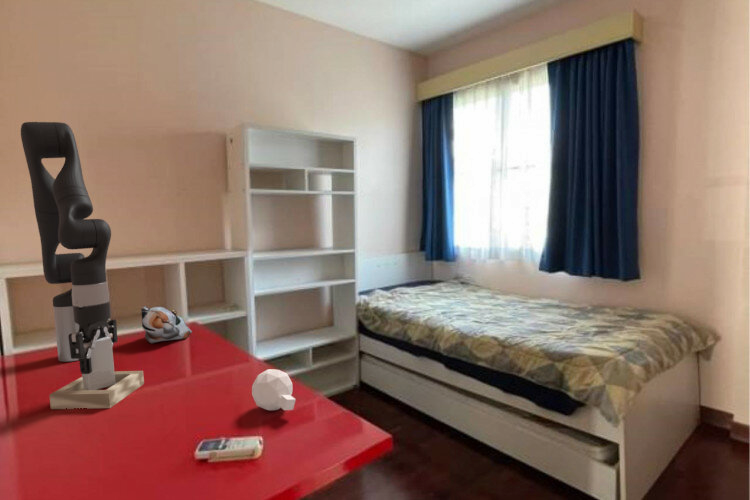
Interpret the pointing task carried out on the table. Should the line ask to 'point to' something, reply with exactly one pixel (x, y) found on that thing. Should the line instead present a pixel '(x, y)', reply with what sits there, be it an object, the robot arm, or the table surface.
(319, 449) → the table surface
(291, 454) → the table surface
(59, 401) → the square wooden frame
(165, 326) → the lucky cat figurine
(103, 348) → the skincare box
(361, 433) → the table surface
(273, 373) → the perfume bottle
